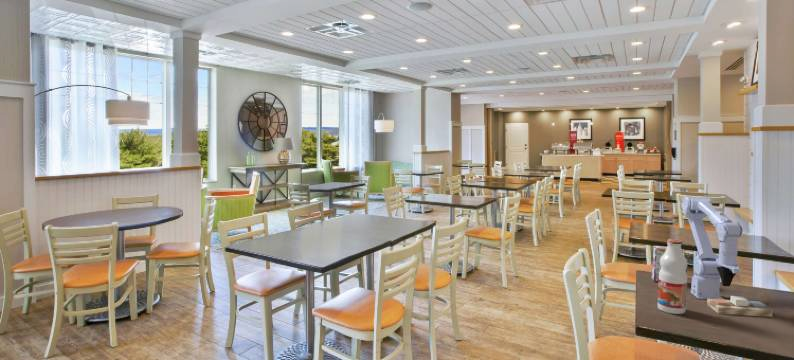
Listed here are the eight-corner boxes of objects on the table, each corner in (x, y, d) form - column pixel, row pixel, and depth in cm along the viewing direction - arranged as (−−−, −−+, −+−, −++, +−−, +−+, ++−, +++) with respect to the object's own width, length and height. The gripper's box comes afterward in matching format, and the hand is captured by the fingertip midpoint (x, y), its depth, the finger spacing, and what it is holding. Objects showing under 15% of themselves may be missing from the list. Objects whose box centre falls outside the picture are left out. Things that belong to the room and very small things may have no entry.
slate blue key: (753, 310, 167) (753, 304, 167) (747, 307, 171) (747, 300, 170) (765, 311, 166) (765, 305, 166) (759, 307, 170) (759, 301, 170)
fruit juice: (691, 313, 167) (695, 242, 165) (670, 315, 166) (673, 243, 163) (672, 304, 177) (675, 236, 174) (651, 306, 175) (654, 238, 173)
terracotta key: (717, 308, 169) (718, 302, 169) (712, 304, 173) (713, 298, 173) (729, 309, 169) (730, 303, 168) (724, 305, 172) (724, 299, 172)
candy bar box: (653, 282, 204) (655, 248, 203) (651, 279, 209) (652, 245, 208) (681, 284, 201) (683, 249, 199) (678, 281, 205) (680, 247, 204)
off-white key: (735, 305, 168) (736, 299, 168) (730, 301, 172) (730, 295, 172) (747, 306, 167) (748, 300, 167) (741, 302, 171) (742, 296, 171)
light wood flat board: (718, 313, 167) (718, 307, 167) (706, 304, 176) (707, 298, 176) (772, 317, 163) (772, 310, 163) (758, 307, 172) (758, 301, 172)
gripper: (749, 257, 164) (747, 292, 165) (730, 248, 178) (728, 280, 179) (728, 256, 166) (726, 291, 167) (710, 247, 180) (708, 279, 181)
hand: (725, 285), depth 173 cm, fingers closed
